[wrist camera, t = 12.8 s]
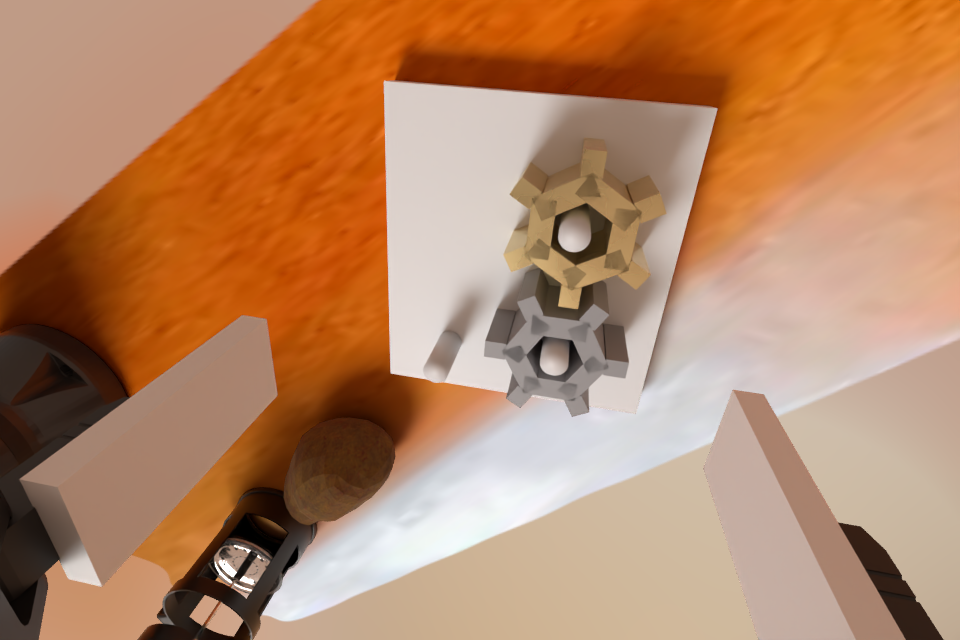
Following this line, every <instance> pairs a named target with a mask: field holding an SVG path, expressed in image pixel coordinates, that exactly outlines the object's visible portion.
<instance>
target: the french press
mask: <svg viewBox="0 0 960 640" xmlns="http://www.w3.org/2000/svg"><path fill="white" fill-rule="evenodd" d="M283 496H284V492H282V491H279V490H276V489H272V488H255V489H251V490H249V491H247V492H246V493H244V495H243V496H242V497H241V498H240V500H239V502H238V505H237V506H236V508H235V509H234V510H233V511H232V513H231V514H230V515H229V516H228V518H227V519H226V520H225V522H224V524H223V528H222V529H221V530H220V532H219V533H218V534H217V536H216V537H215V538H214V539H213V541H212V542H211V543H210V544H209V546H208V547H207V548H206V550H205V551H204V552H203V553H202V555H201V556H200V557H199V558H198V560H197V561H196V562H195V564H194V565H193V566H192V567H191V569H190V570H189V571H188V572H187V574H186V575H185V576H184V578H182V579H180V580H178V581H177V582H176V583H175V584H174V586H173V587H172V588H171V589H170V591H169V592H168V593H167V595H166V596H165V597H164V599H163V608H162V609H161V610H160V611H159V613H158V614H157V618H158V619H159V620H160V621H161V622H162V623H163V624H155V625H151V626H149V627H147V629H146V630H145V631H144V632H143V633H142V635H141V636H140V637H139V638H138V640H253V639H254V637H255V636H256V634H257V632H258V630H259V629H260V624H261V623H260V616H261V615H262V613H263V611H264V609H265V608H266V606H267V604H268V603H269V601H270V599H271V598H272V596H273V594H274V593H275V592H277V591H278V590H279V589H280V587H281V586H282V580H283V577H284V576H285V574H286V572H287V570H288V569H291V568H293V567H294V566H295V565H296V564H297V563H298V561H299V560H300V558H301V556H302V554H303V553H304V551H305V549H306V548H307V546H308V545H309V544H311V543H312V541H313V539H314V538H315V535H316V523H313V524H311V525H305V524H301V523H299V522H298V521H297V520H295V519H294V518H293V517H292V516H291V514H290V513H289V511H288V509H287V508H286V504H285V501H284V497H283ZM249 514H253V515H257V516H261V517H264V518H266V519H269V520H271V521H273V522H275V523H276V524H278V525H279V526H281V527H282V528H283V529H284V530H285V531H287V532H288V535H287V536H286V538H285V539H284V541H279V540H276V539H273V538H271V537H269V536H267V535H265V534H264V533H262V532H261V531H260V530H259V529H257V528H256V527H255V525H254V524H253V523H252V521H251V520H250V517H249ZM217 577H219V578H220V579H221V580H223V581H224V582H225V583H227V584H228V585H230V586H227V585H225V584H223V583H220V582H218V581H215V580H216V578H217ZM233 587H234V588H236V589H237V590H240V591H243V592H245V593H249V596H248V597H247V599H246V598H245V597H244V596H242V595H241V594H240V593H238V592H237V591H235V590H234V589H232V588H233ZM204 595H207V596H210V597H212V598H214V599H216V600H218V601H219V602H218V604H217V605H216V607H215V608H214V610H213V611H212V612H211V614H210V615H209V617H208V618H207V620H206V621H205V623H204V624H203V626H201V625H200V624H199V623H197V622H195V621H194V620H193V619H192V618H190V617H189V616H190V615H191V613H192V612H193V610H194V609H195V608H196V606H197V605H198V603H199V602H200V601H201V599H202V598H203V596H204ZM222 603H223V604H225V605H227V606H228V607H230V608H231V609H232V610H233V611H235V612H236V613H237V614H238V615H239V616H240V617H241V618H242V619H243V620H244V621H243V623H242V624H241V626H240V628H239V629H238V631H237V632H236V634H235V636H234V637H232V636H226V635H223V634H219V633H216V632H213V631H211V630H209V629H207V628H206V626H207V625H208V624H209V622H210V621H211V619H212V618H213V616H214V615H215V613H216V612H217V610H218V609H219V607H220V606H221V605H222Z"/></svg>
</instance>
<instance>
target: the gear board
mask: <svg viewBox="0 0 960 640" xmlns="http://www.w3.org/2000/svg"><path fill="white" fill-rule="evenodd" d="M384 106H385V150H386V195H387V239H388V284H389V328H390V372H391V374H397V375H403V376H409V377H415V378H421V379H427V380H430V381H432V382H435V383H440V382H445V383H451V384H457V385H463V386H469V387H476V388H482V389H488V390H494V391H500V392H506V393H507V397H506V399H508V400H509V401H511V402H512V403H514V404H515V405H517V406H518V407H519V408H521V407H522V406H523V405H524V404H525V403H526V402H527V400H528V399H529V398H530V397H536V398H542V399H548V400H554V401H560V402H565V403H566V405H567V407H568V409H569V411H570V414H571V416H572V417H573V416H577V415H581V414H585V413H588V412H589V406H590V407H597V408H603V409H609V410H615V411H621V412H627V413H633V414H636V411H637V408H638V404H639V400H640V397H641V393H642V389H643V385H644V382H645V378H646V374H647V370H648V367H649V363H650V359H651V356H652V352H653V348H654V344H655V341H656V337H657V333H658V329H659V326H660V322H661V318H662V314H663V311H664V307H665V303H666V300H667V296H668V292H669V288H670V285H671V281H672V277H673V273H674V270H675V266H676V262H677V259H678V255H679V251H680V247H681V244H682V240H683V236H684V232H685V229H686V225H687V221H688V217H689V214H690V210H691V206H692V203H693V199H694V195H695V191H696V188H697V184H698V180H699V176H700V173H701V169H702V165H703V162H704V158H705V154H706V150H707V147H708V143H709V139H710V135H711V132H712V128H713V124H714V120H715V117H716V113H717V109H718V108H714V107H711V106H702V105H690V104H678V103H665V102H653V101H641V100H629V99H617V98H604V97H592V96H580V95H568V94H555V93H543V92H531V91H519V90H507V89H494V88H482V87H470V86H458V85H445V84H433V83H421V82H409V81H397V80H392V81H384ZM584 138H594V139H604V141H605V144H606V148H607V151H608V152H607V158H606V163H605V169H606V170H607V171H608V172H610V173H611V174H612V175H614V176H615V177H616V178H617V179H619V180H620V181H621V182H623V183H624V184H625V185H626V186H627V184H629V183H631V182H633V181H636V180H638V179H641V178H643V177H646V176H648V175H649V176H650V177H651V179H652V181H653V182H654V184H655V186H656V187H657V189H658V190H659V192H660V194H661V197H662V201H663V204H664V207H665V210H666V213H667V214H665V215H662V216H659V217H657V218H654V219H651V220H649V221H646V222H643V223H639V227H638V232H637V236H636V240H635V242H636V243H637V244H639V245H640V246H641V247H642V249H643V252H644V255H645V258H646V261H647V264H648V267H649V270H650V273H651V275H650V276H649V277H648V279H647V280H646V281H645V282H644V283H643V284H642V285H641V286H640V287H639V288H638V289H637V290H636V289H634V288H633V287H632V286H630V285H629V284H628V283H626V282H625V281H624V280H622V279H621V278H620V277H618V276H617V275H615V276H612V277H610V278H607V279H604V280H601V281H598V282H595V283H592V284H589V285H586V286H584V287H582V290H581V295H580V301H579V306H578V309H572V308H566V307H559V306H558V303H559V293H560V284H561V283H560V282H558V281H557V280H555V279H554V278H553V277H551V276H550V275H549V274H547V273H546V272H545V271H543V270H542V269H541V268H539V267H538V266H536V265H535V264H534V263H533V264H532V265H529V266H527V267H524V268H521V269H519V270H516V271H513V272H511V271H510V268H509V266H508V264H507V262H506V260H505V258H504V255H503V254H504V251H505V249H506V247H507V245H508V242H509V240H510V238H511V235H512V233H513V231H514V230H516V229H518V228H521V227H523V226H526V225H528V224H529V218H530V210H531V208H530V209H528V208H526V207H525V206H524V205H522V204H521V203H520V202H518V201H517V200H516V199H514V198H513V197H512V196H510V195H509V194H510V193H511V191H512V189H513V188H514V186H515V184H516V183H517V181H518V179H519V177H520V176H521V175H522V173H523V172H524V171H525V169H526V168H527V166H528V165H529V164H530V162H532V163H533V164H534V165H535V166H537V167H538V168H539V169H541V170H542V171H543V172H545V173H546V174H547V175H548V176H550V175H553V174H555V173H557V172H559V171H562V170H564V169H566V168H569V167H571V166H573V165H575V164H578V163H580V161H581V155H582V149H583V143H584ZM605 218H606V217H605V216H603V215H602V214H601V213H599V212H598V211H597V210H595V209H594V208H593V207H592V206H590V205H589V204H588V203H585V204H582V205H580V206H577V207H575V208H573V209H570V210H568V211H565V212H563V213H560V214H558V215H556V218H555V224H557V225H558V226H559V234H558V240H559V243H560V245H561V246H562V247H563V248H564V249H565V250H567V251H569V252H579V251H582V250H583V249H585V248H586V247H587V246H588V245H589V243H590V240H591V234H593V233H595V232H598V231H600V230H603V229H604V224H605Z"/></svg>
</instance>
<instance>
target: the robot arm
mask: <svg viewBox="0 0 960 640" xmlns="http://www.w3.org/2000/svg"><path fill="white" fill-rule="evenodd" d="M276 396H277V388H276V381H275V374H274V367H273V360H272V353H271V347H270V340H269V333H268V326H267V319H264V318H257V317H250V316H244V315H242V316H241V317H239V318H238V319H237V320H235V321H234V322H233V323H231V324H230V325H228V326H227V327H226V328H224V329H223V330H222V331H220V332H219V333H218V334H216V335H215V336H213V337H212V338H211V339H209V340H208V341H207V342H205V343H204V344H203V345H201V346H200V347H199V348H197V349H196V350H194V351H193V352H192V353H190V354H189V355H188V356H186V357H185V358H184V359H182V360H181V361H180V362H178V363H177V364H175V365H174V366H173V367H171V368H170V369H169V370H167V371H166V372H165V373H163V374H162V375H160V376H159V377H158V378H156V379H155V380H154V381H152V382H151V383H150V384H148V385H147V386H146V387H144V388H143V389H141V390H140V391H139V392H137V393H136V394H135V395H133V396H132V397H131V398H129V397H127V396H126V394H125V392H124V389H123V387H122V386H121V384H120V382H119V381H118V379H117V378H116V376H115V375H114V373H113V372H112V371H111V370H110V368H109V367H108V366H107V365H106V364H105V363H104V362H103V361H102V360H101V359H100V358H99V357H98V356H97V355H96V354H95V353H94V352H93V351H91V350H90V349H89V348H88V347H86V346H85V345H84V344H82V343H81V342H79V341H78V340H76V339H74V338H73V337H71V336H69V335H67V334H65V333H63V332H61V331H58V330H56V329H53V328H50V327H46V326H42V325H35V324H25V325H19V326H16V327H13V328H11V329H9V330H7V331H4V332H2V333H0V640H39V634H40V628H41V623H42V617H43V612H44V606H45V601H46V595H47V590H48V582H47V577H46V575H45V572H46V571H47V570H48V569H49V568H51V567H52V565H54V564H55V563H56V562H57V561H58V560H59V561H60V563H61V565H62V567H63V569H64V571H65V573H66V575H67V577H68V579H71V580H75V581H80V582H84V583H88V584H92V585H97V586H103V585H104V584H105V583H106V582H107V581H108V580H109V578H111V576H112V575H113V574H114V573H115V572H116V571H117V570H118V569H119V568H120V567H121V566H122V564H123V563H124V562H125V561H126V560H127V559H128V558H129V557H130V556H131V555H132V554H133V552H134V551H135V550H136V549H137V548H138V547H139V546H140V545H141V544H142V543H143V542H144V540H145V539H146V538H147V537H148V536H149V535H150V534H151V533H152V532H153V531H154V530H155V528H156V527H157V526H158V525H159V524H160V523H161V522H162V521H163V520H164V519H165V518H166V516H167V515H168V514H169V513H170V512H171V511H172V510H173V509H174V508H175V507H176V506H177V504H178V503H179V502H180V501H181V500H182V499H183V498H184V497H185V496H186V495H187V494H188V492H189V491H190V490H191V489H192V488H193V487H194V486H195V485H196V484H197V483H198V482H199V480H200V479H201V478H202V477H203V476H204V475H205V474H206V473H207V472H208V471H209V470H210V468H211V467H212V466H213V465H214V464H215V463H216V462H217V461H218V460H219V459H220V458H221V456H222V455H223V454H224V453H225V452H226V451H227V450H228V449H229V448H230V447H231V446H232V444H233V443H234V442H235V441H236V440H237V439H238V438H239V437H240V436H241V435H242V434H243V432H244V431H245V430H246V429H247V428H248V427H249V426H250V425H251V424H252V423H253V422H254V420H255V419H256V418H257V417H258V416H259V415H260V414H261V413H262V412H263V411H264V410H265V408H266V407H267V406H268V405H269V404H270V403H271V402H272V401H273V400H274V399H275V398H276ZM704 472H705V475H706V478H707V481H708V484H709V487H710V491H711V494H712V497H713V500H714V503H715V506H716V509H717V512H718V516H719V519H720V521H721V525H722V528H723V531H724V534H725V537H726V540H727V543H728V547H729V550H730V553H731V556H732V559H733V562H734V565H735V569H736V572H737V575H738V578H739V581H740V584H741V587H742V590H743V593H744V596H745V600H746V603H747V606H748V609H749V612H750V615H751V618H752V621H753V625H754V628H755V631H756V634H757V637H758V640H943V638H942V637H941V635H940V634H939V632H938V631H937V629H936V627H935V626H934V624H933V623H932V621H931V620H930V618H929V617H928V616H927V613H926V612H925V610H924V609H923V607H922V606H921V604H920V603H919V602H916V600H915V598H916V596H915V595H914V594H913V592H912V590H911V589H910V587H909V586H908V584H907V583H906V581H903V580H902V575H901V573H900V572H899V570H898V569H897V567H896V565H895V564H894V563H893V561H892V559H891V558H890V556H889V555H888V553H887V552H886V550H885V549H884V548H883V547H881V545H879V543H877V542H876V541H875V540H874V539H873V538H872V537H871V536H870V535H869V534H868V533H867V532H866V531H865V530H864V529H863V528H861V527H860V526H854V525H849V524H843V523H838V522H837V520H836V518H835V517H834V515H833V514H832V512H831V510H830V508H829V506H828V505H827V503H826V501H825V499H824V498H823V496H822V494H821V493H820V492H819V489H818V488H817V486H816V484H815V482H814V481H813V479H812V477H811V475H810V474H809V472H808V470H807V468H806V467H805V465H804V463H803V462H802V460H801V458H800V456H799V455H798V453H797V451H796V450H795V448H794V446H793V444H792V443H791V441H790V439H789V437H788V436H787V434H786V432H785V431H784V429H783V427H782V425H781V424H780V422H779V420H778V418H777V417H776V415H775V413H774V411H773V410H772V408H771V406H770V405H769V403H768V401H767V399H766V398H765V396H764V394H757V393H751V392H744V391H737V390H733V391H732V394H731V396H730V399H729V402H728V404H727V407H726V409H725V412H724V415H723V417H722V420H721V423H720V425H719V428H718V431H717V433H716V436H715V439H714V441H713V444H712V447H711V449H710V452H709V455H708V457H707V460H706V462H705V465H704Z"/></svg>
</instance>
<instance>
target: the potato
mask: <svg viewBox="0 0 960 640" xmlns="http://www.w3.org/2000/svg"><path fill="white" fill-rule="evenodd" d="M394 460H395V448H394V443H393V440H392V438H391V437H390V436H389V435H388V434H387V433H386V432H385V431H384V430H383V429H382V428H381V427H380V426H378V425H376V424H374V423H372V422H371V421H369V420H365V419H357V418H336V419H332V420H328V421H324V422H321V423H319V424H317V425H316V426H315V427H313V428H312V429H311V430H309V431H308V432H307V433H305V434H304V435H303V436H302V438H301V440H300V442H299V444H298V446H297V448H296V450H295V453H294V455H293V457H292V460H291V463H290V467H289V470H288V472H287V475H286V477H285V486H284V496H283V497H284V501H285V504H286V508H287V509H288V511H289V513H290V514H291V516H292V517H293V518H294V519H295V520H297V521H298V522H299V523H301V524H305V525H311V524H313V523H315V522H317V521H335V520H337V519H339V518H341V517H342V516H344V515H346V514H347V513H349V512H351V511H353V510H354V509H356V508H358V507H359V506H360V505H361V504H363V503H364V502H365V501H367V500H368V499H370V498H371V497H372V496H373V495H374V494H375V493H376V492H377V491H378V490H379V489H380V488H381V487H382V485H383V484H384V483H385V481H386V480H387V478H388V477H389V474H390V472H391V470H392V467H393V463H394Z"/></svg>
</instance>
